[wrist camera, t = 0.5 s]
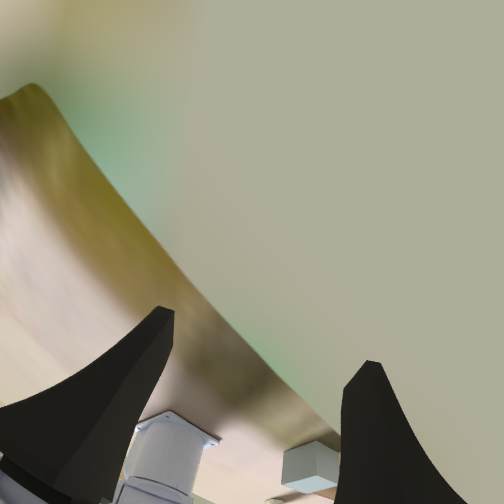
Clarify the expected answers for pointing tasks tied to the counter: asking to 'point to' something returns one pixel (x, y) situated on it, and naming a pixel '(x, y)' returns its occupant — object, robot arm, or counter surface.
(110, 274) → the counter surface
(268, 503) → the eye dropper bottle
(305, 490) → the grey cube
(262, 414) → the counter surface
